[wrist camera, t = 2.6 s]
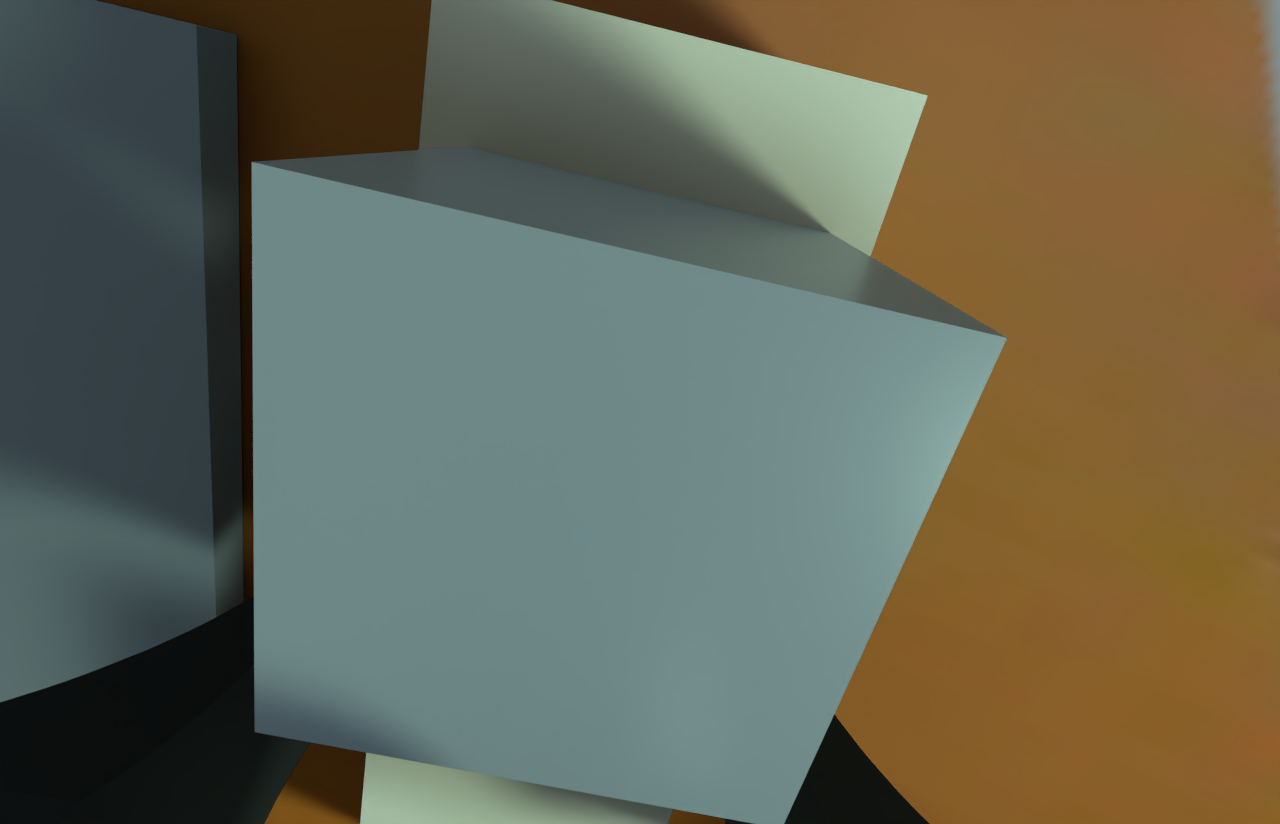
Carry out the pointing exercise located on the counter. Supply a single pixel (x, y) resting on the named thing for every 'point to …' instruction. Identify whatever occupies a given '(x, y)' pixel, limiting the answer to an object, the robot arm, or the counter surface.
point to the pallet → (654, 160)
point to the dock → (115, 336)
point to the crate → (579, 472)
